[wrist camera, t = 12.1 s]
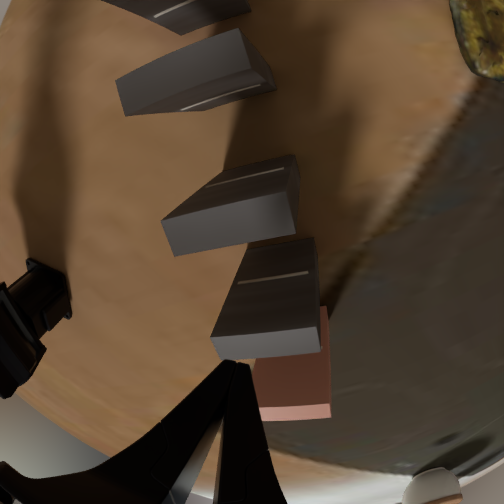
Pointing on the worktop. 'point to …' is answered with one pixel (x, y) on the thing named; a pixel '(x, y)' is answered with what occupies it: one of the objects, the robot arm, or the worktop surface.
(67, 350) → the worktop surface
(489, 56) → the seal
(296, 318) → the domino
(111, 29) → the worktop surface
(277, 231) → the domino
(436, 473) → the lidded bowl
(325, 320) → the domino
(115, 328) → the worktop surface
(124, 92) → the domino
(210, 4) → the domino
